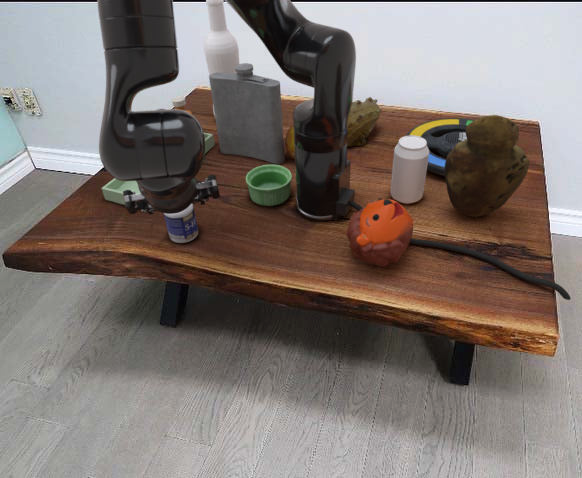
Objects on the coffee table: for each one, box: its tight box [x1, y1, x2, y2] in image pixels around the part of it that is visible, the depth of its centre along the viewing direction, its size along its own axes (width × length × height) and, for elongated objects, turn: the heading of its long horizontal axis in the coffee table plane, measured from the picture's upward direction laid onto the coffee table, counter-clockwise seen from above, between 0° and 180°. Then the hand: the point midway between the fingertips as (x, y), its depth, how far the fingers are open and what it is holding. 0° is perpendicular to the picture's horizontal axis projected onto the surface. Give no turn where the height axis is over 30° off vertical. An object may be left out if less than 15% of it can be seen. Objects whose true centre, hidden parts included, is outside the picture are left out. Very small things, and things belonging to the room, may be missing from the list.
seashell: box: [347, 96, 383, 148], centre depth 115 cm, size 11×14×10 cm
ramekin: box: [245, 164, 293, 207], centre depth 99 cm, size 9×9×4 cm
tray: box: [101, 132, 216, 206], centre depth 109 cm, size 9×27×3 cm, turn 155°
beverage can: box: [389, 135, 430, 205], centre depth 94 cm, size 6×6×12 cm
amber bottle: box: [171, 95, 193, 115], centre depth 112 cm, size 5×5×12 cm
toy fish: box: [346, 198, 415, 267], centre depth 82 cm, size 12×10×11 cm
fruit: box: [284, 124, 295, 160], centre depth 108 cm, size 10×9×8 cm
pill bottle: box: [163, 204, 199, 244], centre depth 89 cm, size 5×5×9 cm
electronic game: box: [405, 117, 517, 177], centre depth 107 cm, size 23×23×5 cm
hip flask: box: [208, 62, 286, 165], centre depth 107 cm, size 16×4×20 cm, turn 66°
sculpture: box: [444, 114, 530, 218], centre depth 86 cm, size 13×8×20 cm, turn 70°
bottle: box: [203, 0, 240, 117], centre depth 118 cm, size 8×8×30 cm
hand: (176, 203), depth 84 cm, fingers open, 8 cm apart
